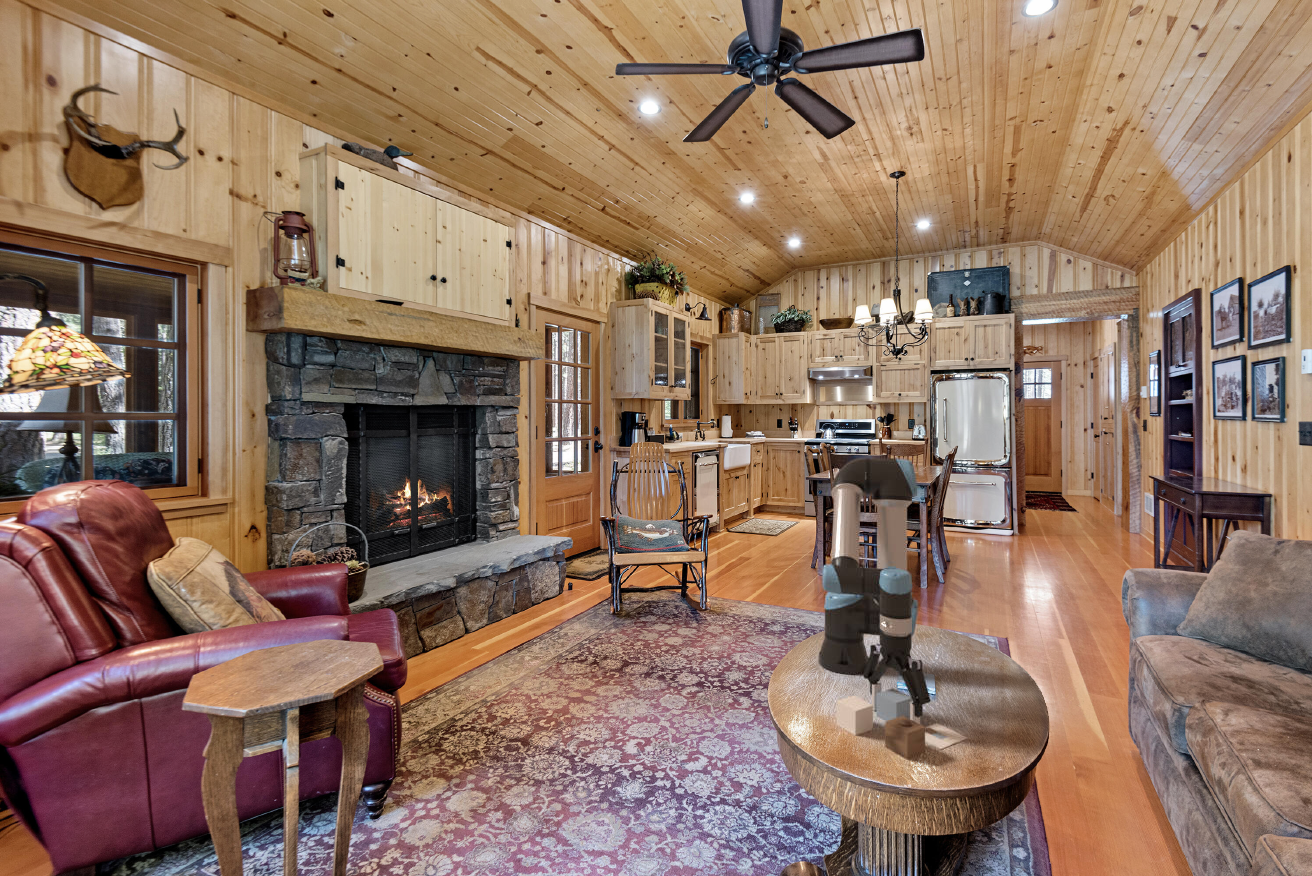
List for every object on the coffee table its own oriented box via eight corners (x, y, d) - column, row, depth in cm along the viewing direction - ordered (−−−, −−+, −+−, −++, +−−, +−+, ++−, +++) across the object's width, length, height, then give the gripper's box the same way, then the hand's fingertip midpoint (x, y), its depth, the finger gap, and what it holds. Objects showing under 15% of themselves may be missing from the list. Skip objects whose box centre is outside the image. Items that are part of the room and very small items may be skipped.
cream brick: (836, 724, 148) (836, 700, 148) (853, 719, 151) (854, 695, 151) (855, 735, 143) (855, 711, 142) (872, 729, 145) (873, 705, 145)
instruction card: (910, 734, 143) (910, 732, 143) (936, 723, 148) (936, 722, 148) (940, 749, 136) (940, 748, 136) (967, 738, 141) (967, 737, 141)
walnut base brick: (885, 747, 137) (885, 719, 137) (902, 740, 140) (902, 713, 140) (907, 760, 132) (907, 731, 132) (924, 753, 135) (925, 724, 135)
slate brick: (876, 716, 152) (876, 693, 152) (892, 711, 155) (892, 688, 155) (896, 727, 147) (896, 703, 146) (912, 721, 150) (912, 697, 149)
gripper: (849, 621, 158) (849, 703, 159) (926, 649, 138) (926, 743, 138) (868, 616, 162) (868, 696, 162) (947, 643, 142) (946, 735, 142)
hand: (895, 718), depth 150 cm, fingers open, 11 cm apart
